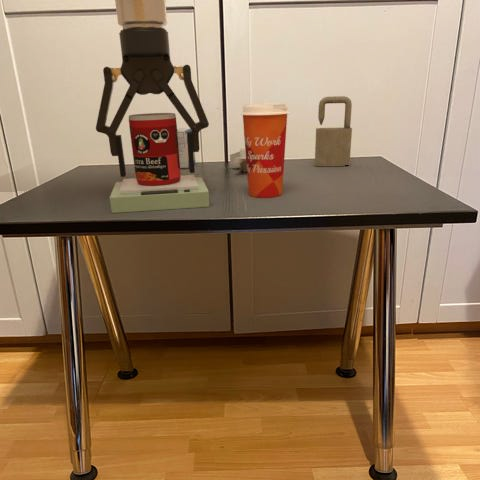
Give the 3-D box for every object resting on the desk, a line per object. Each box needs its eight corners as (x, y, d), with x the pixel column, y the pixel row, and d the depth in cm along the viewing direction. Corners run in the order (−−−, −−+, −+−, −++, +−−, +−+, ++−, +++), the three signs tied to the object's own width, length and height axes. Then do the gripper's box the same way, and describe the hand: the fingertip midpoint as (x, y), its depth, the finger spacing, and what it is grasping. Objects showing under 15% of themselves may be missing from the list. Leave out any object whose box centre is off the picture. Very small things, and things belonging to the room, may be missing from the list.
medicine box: (188, 168, 117) (185, 130, 113) (170, 169, 117) (167, 131, 114) (195, 163, 124) (193, 127, 120) (179, 164, 124) (176, 128, 121)
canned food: (127, 185, 83) (118, 116, 78) (154, 177, 89) (147, 113, 85) (164, 187, 80) (157, 115, 75) (189, 179, 86) (184, 112, 82)
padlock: (314, 164, 118) (317, 96, 111) (348, 163, 116) (353, 95, 110) (314, 166, 114) (317, 97, 107) (349, 166, 113) (354, 96, 106)
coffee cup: (236, 197, 86) (233, 105, 79) (252, 188, 92) (250, 103, 86) (281, 200, 83) (281, 105, 76) (294, 190, 90) (296, 102, 83)
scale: (111, 213, 78) (108, 193, 77) (117, 195, 90) (115, 178, 89) (209, 206, 80) (208, 187, 79) (202, 190, 92) (201, 174, 91)
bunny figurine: (268, 147, 117) (273, 147, 103) (268, 169, 119) (273, 172, 105) (229, 148, 117) (229, 148, 103) (230, 170, 119) (229, 173, 105)
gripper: (216, 29, 79) (222, 166, 89) (68, 32, 76) (91, 174, 86) (221, 24, 73) (227, 173, 82) (60, 27, 70) (86, 181, 79)
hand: (158, 173), depth 84 cm, fingers open, 11 cm apart
